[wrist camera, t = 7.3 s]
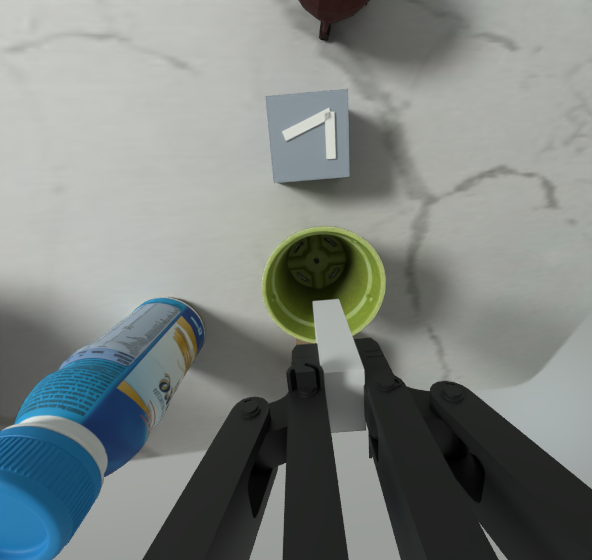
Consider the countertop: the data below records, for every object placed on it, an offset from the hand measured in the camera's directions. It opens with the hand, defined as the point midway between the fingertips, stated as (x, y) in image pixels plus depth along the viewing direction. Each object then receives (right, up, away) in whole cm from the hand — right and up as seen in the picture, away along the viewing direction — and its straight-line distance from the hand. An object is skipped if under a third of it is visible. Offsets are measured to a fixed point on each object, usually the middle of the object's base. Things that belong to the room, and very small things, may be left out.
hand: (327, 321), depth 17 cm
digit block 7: (-1, +15, +10) cm, 18 cm away
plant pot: (0, +5, +13) cm, 14 cm away
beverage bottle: (-16, -3, +16) cm, 23 cm away
